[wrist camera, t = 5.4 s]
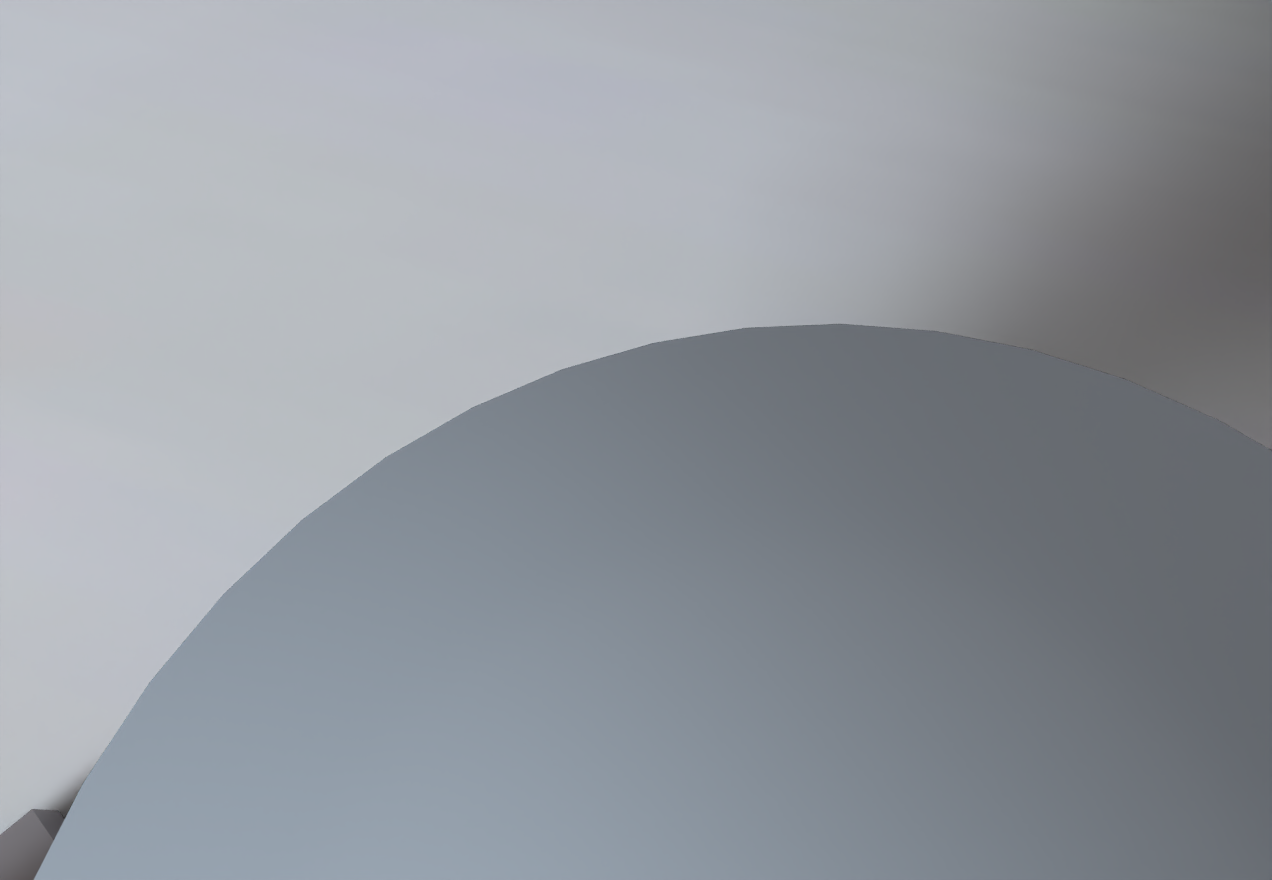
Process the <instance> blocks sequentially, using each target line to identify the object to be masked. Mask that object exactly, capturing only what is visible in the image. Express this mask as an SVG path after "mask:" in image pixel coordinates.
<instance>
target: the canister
mask: <svg viewBox="0 0 1272 880" xmlns="http://www.w3.org/2000/svg"><path fill="white" fill-rule="evenodd" d="M34 880H1272V450H1270V449H1268V448H1266V447H1265V446H1263V445H1261V444H1259V443H1258V442H1256V441H1254V440H1252V439H1251V438H1249V437H1247V436H1245V435H1244V434H1242V433H1240V432H1238V431H1237V430H1235V429H1233V428H1231V427H1230V426H1228V425H1226V424H1224V423H1223V422H1221V421H1219V420H1217V419H1215V418H1213V417H1210V416H1208V415H1206V414H1203V413H1201V412H1199V411H1197V410H1194V409H1192V408H1190V407H1188V406H1185V405H1183V404H1181V403H1178V402H1176V401H1174V400H1172V399H1169V398H1167V397H1165V396H1162V395H1160V394H1158V393H1156V392H1153V391H1151V390H1149V389H1146V388H1144V387H1142V386H1140V385H1137V384H1135V383H1133V382H1131V381H1128V380H1126V379H1123V378H1120V377H1117V376H1114V375H1110V374H1107V373H1104V372H1101V371H1098V370H1094V369H1091V368H1088V367H1085V366H1082V365H1079V364H1075V363H1072V362H1069V361H1066V360H1063V359H1059V358H1056V357H1053V356H1050V355H1047V354H1043V353H1040V352H1037V351H1034V350H1031V349H1026V348H1020V347H1015V346H1010V345H1005V344H1000V343H995V342H989V341H984V340H979V339H974V338H969V337H964V336H958V335H953V334H948V333H943V332H938V331H928V330H915V329H901V328H888V327H875V326H862V325H849V324H827V325H803V326H779V327H755V328H743V329H737V330H730V331H724V332H718V333H712V334H706V335H700V336H693V337H687V338H681V339H675V340H669V341H663V342H657V343H652V344H648V345H645V346H641V347H638V348H635V349H631V350H628V351H624V352H621V353H617V354H614V355H610V356H607V357H603V358H600V359H596V360H593V361H590V362H586V363H583V364H579V365H576V366H572V367H569V368H565V369H562V370H560V371H557V372H555V373H553V374H550V375H548V376H545V377H543V378H541V379H538V380H536V381H534V382H531V383H529V384H527V385H524V386H522V387H520V388H517V389H515V390H513V391H510V392H508V393H505V394H503V395H501V396H498V397H496V398H494V399H491V400H489V401H487V402H484V403H482V404H480V405H477V406H475V407H473V408H471V409H469V410H467V411H466V412H464V413H462V414H460V415H459V416H457V417H455V418H453V419H452V420H450V421H448V422H446V423H445V424H443V425H441V426H440V427H438V428H436V429H434V430H433V431H431V432H429V433H427V434H426V435H424V436H422V437H420V438H419V439H417V440H415V441H413V442H412V443H410V444H408V445H407V446H405V447H403V448H401V449H400V450H398V451H396V452H394V453H393V454H391V455H389V456H387V457H386V458H384V459H383V460H382V461H380V462H379V463H378V464H376V465H375V466H374V467H372V468H371V469H370V470H368V471H367V472H366V473H364V474H363V475H362V476H360V477H359V478H358V479H356V480H355V481H353V482H352V483H351V484H349V485H348V486H347V487H345V488H344V489H343V490H341V491H340V492H339V493H337V494H336V495H335V496H333V497H332V498H331V499H329V500H328V501H327V502H325V503H324V504H323V505H321V506H320V507H319V508H317V509H316V510H315V511H313V512H312V513H311V514H309V515H308V516H307V517H305V518H304V519H303V520H301V521H300V522H299V523H298V524H297V525H296V526H295V527H294V528H293V529H292V530H291V531H290V532H289V533H288V534H287V535H286V536H285V537H284V538H282V539H281V540H280V541H279V542H278V543H277V544H276V545H275V546H274V547H273V548H272V549H271V550H270V551H269V552H268V553H267V554H266V555H265V556H263V557H262V558H261V559H260V560H259V561H258V562H257V563H256V564H255V565H254V566H253V567H252V568H251V569H250V570H249V571H248V572H247V573H246V574H244V575H243V576H242V577H241V578H240V579H239V580H238V581H237V582H236V583H235V584H234V585H233V586H232V587H231V588H230V589H229V590H228V591H227V592H225V593H224V594H223V596H222V597H221V598H220V599H219V600H218V601H217V603H216V604H215V605H214V606H213V607H212V609H211V610H210V611H209V612H208V613H207V615H206V616H205V617H204V618H203V619H202V621H201V622H200V623H199V624H198V625H197V627H196V628H195V629H194V630H193V631H192V633H191V634H190V635H189V636H188V637H187V638H186V640H185V641H184V642H183V643H182V644H181V646H180V647H179V648H178V649H177V650H176V652H175V653H174V654H173V655H172V656H171V658H170V659H169V660H168V661H167V662H166V664H165V665H164V666H163V667H162V668H161V670H160V671H159V672H158V673H157V674H156V676H155V677H154V678H153V679H152V680H151V681H150V683H149V684H148V686H147V687H146V689H145V690H144V692H143V693H142V695H141V696H140V698H139V699H138V701H137V702H136V704H135V705H134V707H133V709H132V710H131V712H130V713H129V715H128V716H127V718H126V719H125V721H124V722H123V724H122V725H121V727H120V728H119V730H118V731H117V733H116V734H115V736H114V737H113V739H112V740H111V742H110V743H109V745H108V746H107V748H106V749H105V751H104V752H103V754H102V755H101V757H100V758H99V760H98V761H97V763H96V764H95V766H94V768H93V769H92V771H91V772H90V774H89V775H88V777H87V778H86V780H85V781H84V783H83V784H82V786H81V788H80V790H79V792H78V794H77V796H76V798H75V800H74V802H73V804H72V806H71V808H70V810H69V812H68V814H67V816H66V818H65V820H64V822H63V824H62V826H61V827H60V829H59V831H58V833H57V835H56V837H55V839H54V841H53V843H52V845H51V847H50V849H49V851H48V853H47V855H46V857H45V859H44V861H43V863H42V865H41V867H40V869H39V870H38V872H37V874H36V876H35V878H34Z"/></svg>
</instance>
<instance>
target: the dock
mask: <svg viewBox="0 0 1272 880" xmlns="http://www.w3.org/2000/svg"><path fill="white" fill-rule="evenodd" d="M64 820H65V819H64V818H63V816H62V815H61V814H60V812H59V811H54V810H37V809H32V810H30V811H29V812H28V813H27V814H26V815H24V816H23V817H22V818H21V819H19V820H18V821H17V822H16V823H14V824H13V825H12V826H11V827H10V828H8V829H7V830H6V831H5V832H3V833H2V834H1V835H0V880H34V878H35V876H36V874H37V872H38V870H39V869H40V867H41V865H42V863H43V861H44V859H45V857H46V855H47V853H48V851H49V849H50V847H51V845H52V843H53V841H54V839H55V837H56V835H57V833H58V831H59V829H60V827H61V826H62V824H63V822H64Z"/></svg>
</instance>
